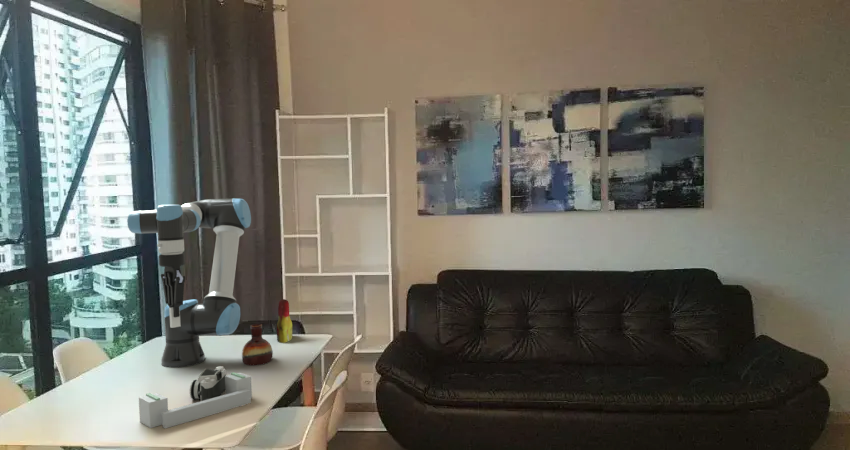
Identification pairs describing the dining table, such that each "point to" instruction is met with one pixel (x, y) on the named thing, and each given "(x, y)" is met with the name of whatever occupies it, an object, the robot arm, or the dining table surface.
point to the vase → (257, 348)
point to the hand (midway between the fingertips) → (175, 326)
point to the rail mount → (195, 404)
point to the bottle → (284, 322)
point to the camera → (208, 384)
